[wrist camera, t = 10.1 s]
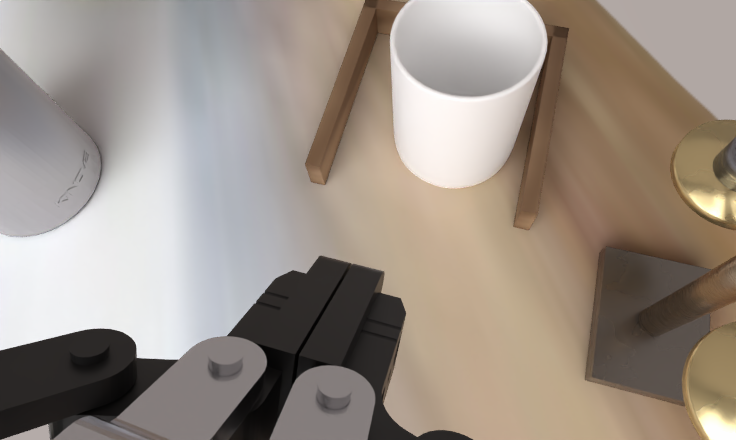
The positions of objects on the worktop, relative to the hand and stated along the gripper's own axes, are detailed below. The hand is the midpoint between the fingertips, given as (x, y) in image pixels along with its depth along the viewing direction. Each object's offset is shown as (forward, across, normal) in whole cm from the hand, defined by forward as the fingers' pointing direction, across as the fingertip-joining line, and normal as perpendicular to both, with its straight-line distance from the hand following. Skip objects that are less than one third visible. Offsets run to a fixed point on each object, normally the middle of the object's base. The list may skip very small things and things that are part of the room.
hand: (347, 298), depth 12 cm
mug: (+28, -1, +1) cm, 28 cm away
